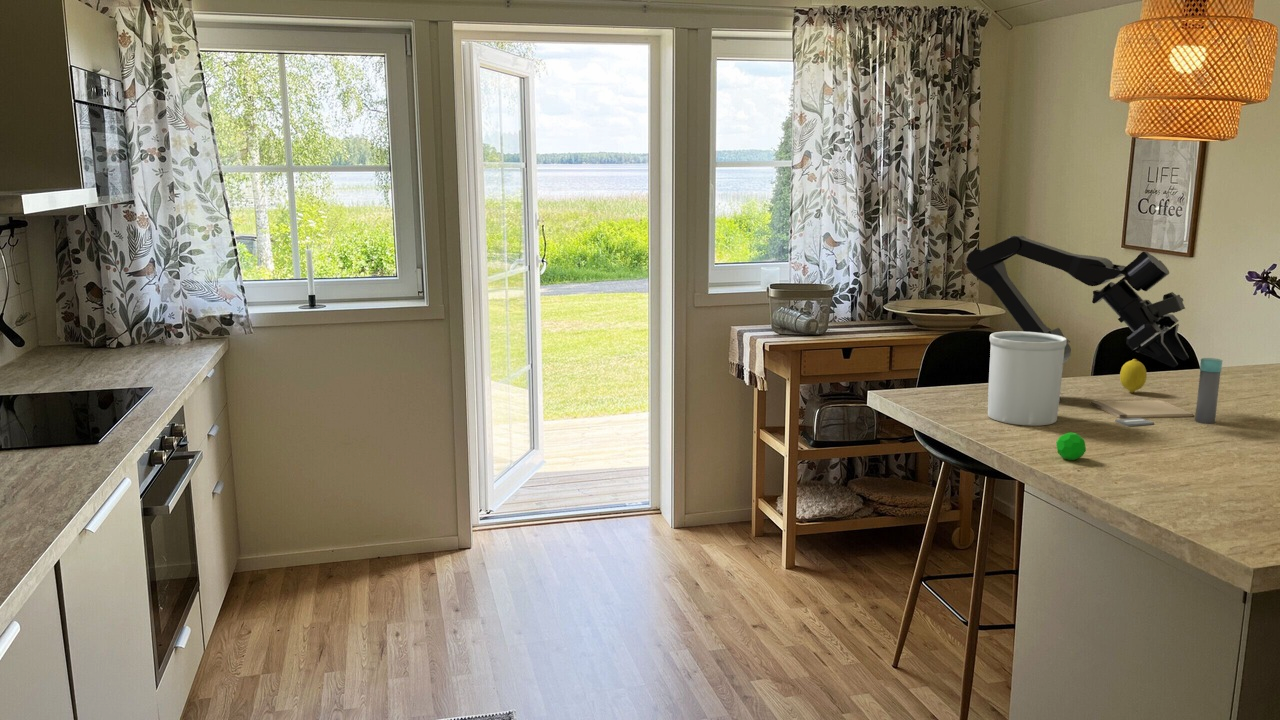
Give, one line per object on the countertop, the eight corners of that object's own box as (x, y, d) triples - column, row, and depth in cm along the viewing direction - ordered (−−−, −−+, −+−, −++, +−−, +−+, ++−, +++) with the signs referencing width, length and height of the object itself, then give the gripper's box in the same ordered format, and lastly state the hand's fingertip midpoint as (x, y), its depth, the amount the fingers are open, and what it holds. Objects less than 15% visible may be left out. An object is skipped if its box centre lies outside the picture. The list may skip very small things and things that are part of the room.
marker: (1201, 423, 199) (1208, 361, 197) (1190, 419, 203) (1196, 358, 201) (1219, 423, 200) (1226, 361, 197) (1208, 418, 203) (1214, 357, 201)
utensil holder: (995, 406, 216) (1000, 327, 212) (1067, 415, 207) (1073, 334, 204) (975, 420, 204) (980, 338, 200) (1050, 430, 195) (1057, 345, 192)
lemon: (1149, 395, 224) (1152, 361, 223) (1125, 395, 224) (1128, 361, 223) (1137, 389, 230) (1140, 356, 228) (1114, 390, 230) (1117, 356, 228)
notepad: (1119, 418, 205) (1119, 414, 204) (1090, 404, 216) (1090, 401, 216) (1193, 416, 205) (1193, 413, 205) (1160, 402, 217) (1160, 399, 217)
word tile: (1128, 426, 198) (1128, 423, 198) (1115, 421, 202) (1115, 419, 202) (1153, 424, 199) (1154, 422, 199) (1139, 419, 203) (1140, 417, 203)
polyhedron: (1091, 461, 175) (1093, 436, 174) (1068, 464, 174) (1070, 438, 173) (1071, 453, 180) (1073, 429, 179) (1049, 456, 179) (1051, 431, 178)
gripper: (1148, 285, 196) (1204, 345, 191) (1171, 276, 210) (1225, 332, 205) (1103, 320, 202) (1157, 379, 197) (1129, 309, 216) (1179, 364, 211)
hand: (1181, 362), depth 203 cm, fingers open, 9 cm apart
